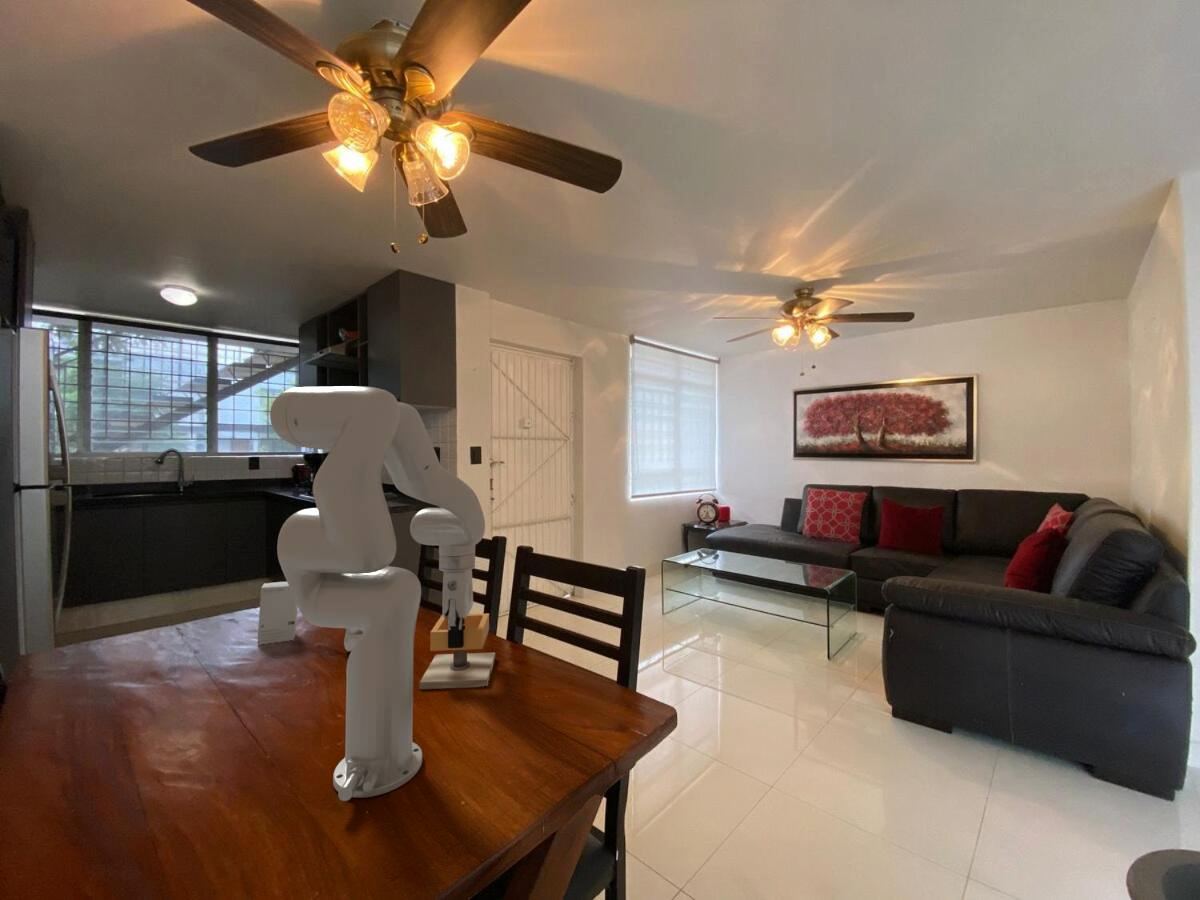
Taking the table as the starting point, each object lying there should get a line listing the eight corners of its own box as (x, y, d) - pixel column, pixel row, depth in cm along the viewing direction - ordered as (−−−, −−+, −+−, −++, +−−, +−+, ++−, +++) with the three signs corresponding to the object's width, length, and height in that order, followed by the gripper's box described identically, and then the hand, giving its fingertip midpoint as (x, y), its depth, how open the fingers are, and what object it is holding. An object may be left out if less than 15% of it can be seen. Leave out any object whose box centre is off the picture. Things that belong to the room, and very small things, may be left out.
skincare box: (257, 646, 121) (258, 588, 121) (261, 638, 127) (262, 582, 127) (295, 640, 125) (296, 584, 125) (298, 633, 130) (299, 579, 131)
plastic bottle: (378, 645, 122) (379, 568, 123) (362, 656, 116) (363, 574, 116) (354, 644, 123) (355, 567, 123) (337, 655, 116) (339, 573, 117)
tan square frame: (482, 649, 103) (482, 630, 103) (430, 650, 102) (430, 632, 102) (489, 629, 114) (489, 613, 114) (442, 631, 112) (442, 614, 112)
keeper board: (487, 686, 101) (487, 665, 101) (419, 689, 99) (419, 667, 100) (495, 658, 115) (495, 640, 115) (435, 660, 113) (436, 641, 113)
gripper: (468, 569, 95) (467, 660, 95) (480, 553, 111) (479, 631, 111) (430, 570, 95) (429, 662, 95) (447, 554, 110) (446, 632, 110)
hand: (456, 645), depth 103 cm, fingers closed on tan square frame, 1 cm apart
